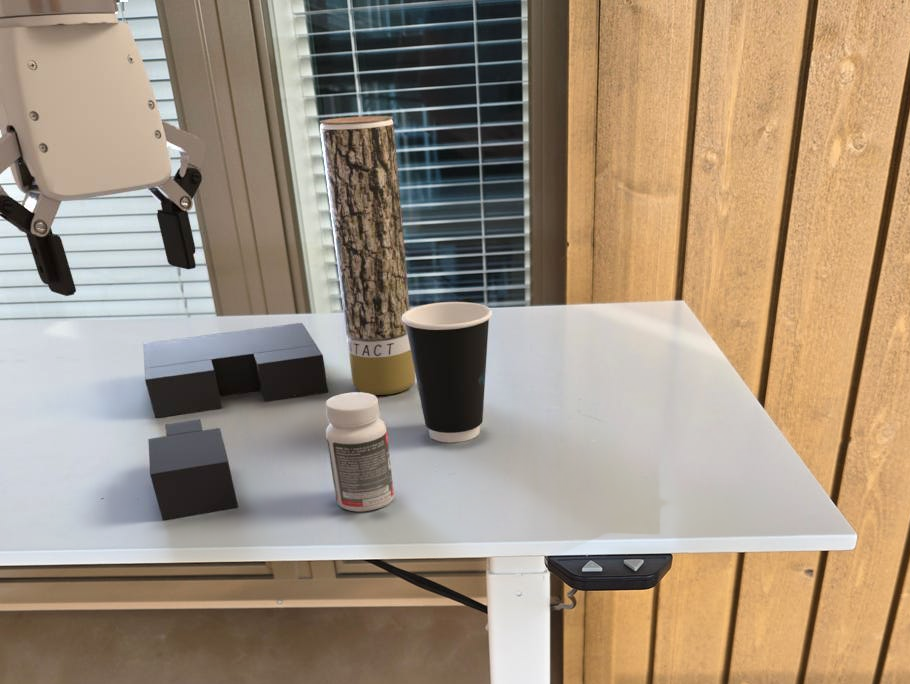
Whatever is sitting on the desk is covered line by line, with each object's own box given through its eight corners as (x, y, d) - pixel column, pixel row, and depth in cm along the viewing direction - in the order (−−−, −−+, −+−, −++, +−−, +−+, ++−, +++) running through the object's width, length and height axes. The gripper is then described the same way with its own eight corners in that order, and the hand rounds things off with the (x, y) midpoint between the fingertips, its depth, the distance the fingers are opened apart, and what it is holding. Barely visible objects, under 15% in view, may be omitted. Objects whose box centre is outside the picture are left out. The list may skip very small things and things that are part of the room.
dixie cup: (513, 433, 83) (510, 312, 77) (443, 456, 79) (433, 331, 73) (464, 411, 88) (458, 296, 82) (396, 432, 85) (384, 313, 78)
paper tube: (374, 373, 99) (345, 116, 85) (427, 380, 97) (406, 115, 83) (341, 393, 94) (304, 123, 80) (395, 400, 92) (367, 122, 78)
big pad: (155, 418, 91) (145, 379, 88) (152, 378, 102) (143, 343, 100) (328, 392, 95) (322, 354, 93) (307, 356, 106) (302, 322, 104)
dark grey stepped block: (162, 520, 71) (150, 474, 69) (159, 469, 80) (147, 426, 77) (238, 507, 72) (228, 461, 70) (226, 458, 81) (217, 416, 79)
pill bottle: (405, 500, 72) (395, 400, 67) (356, 518, 70) (342, 416, 65) (373, 482, 75) (361, 385, 70) (325, 500, 73) (310, 400, 68)
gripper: (146, 0, 64) (200, 253, 74) (-111, 6, 54) (-10, 296, 64) (200, -7, 60) (250, 263, 69) (-70, -1, 50) (32, 312, 60)
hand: (125, 279), depth 67 cm, fingers open, 9 cm apart
